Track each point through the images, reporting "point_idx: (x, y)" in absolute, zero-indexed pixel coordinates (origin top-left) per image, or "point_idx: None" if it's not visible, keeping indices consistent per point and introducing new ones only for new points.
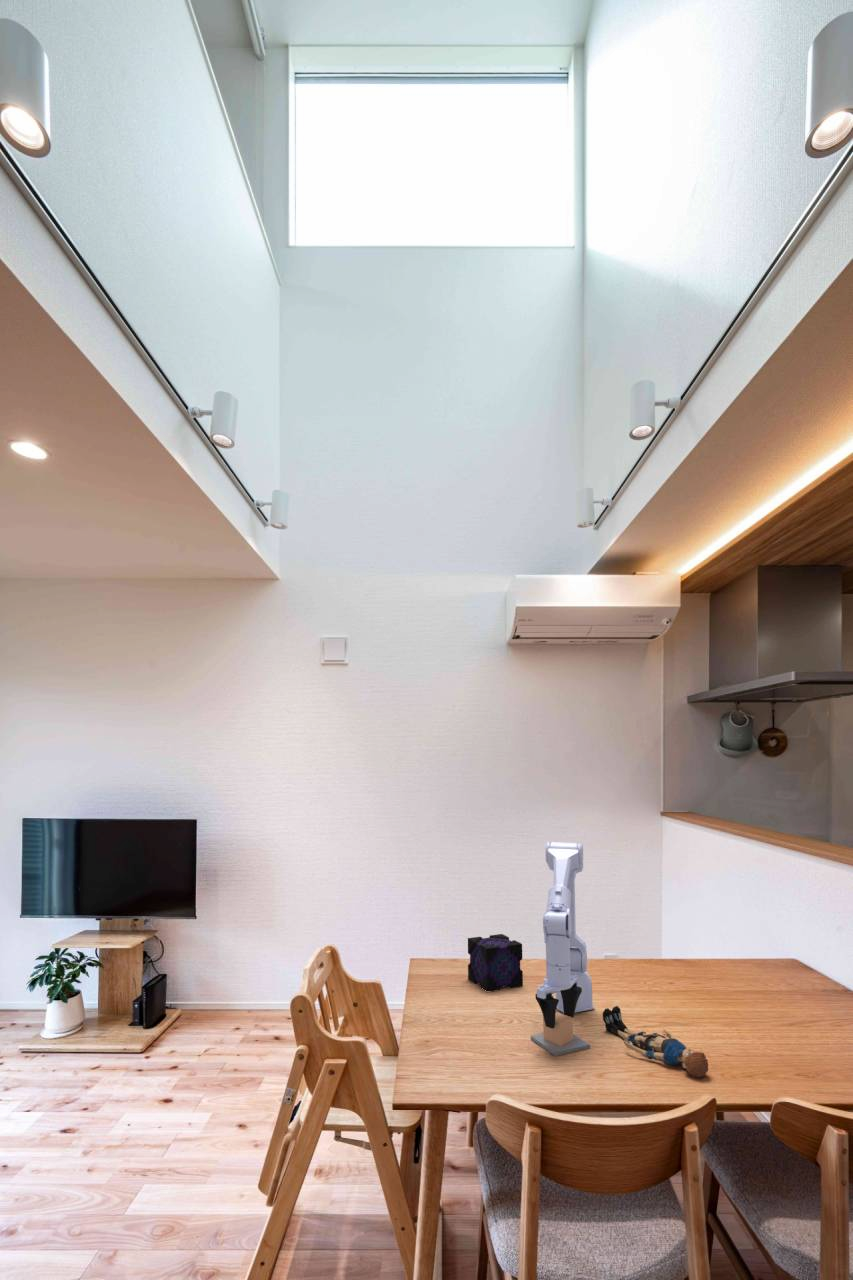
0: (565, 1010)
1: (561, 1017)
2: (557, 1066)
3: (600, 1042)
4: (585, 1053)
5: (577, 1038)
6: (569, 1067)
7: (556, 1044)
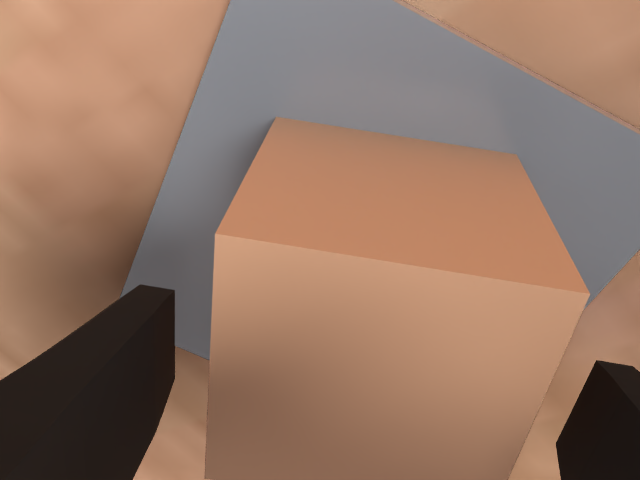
0: (633, 449)
1: (395, 435)
2: (4, 372)
3: None
4: None
5: None
6: None
7: None
